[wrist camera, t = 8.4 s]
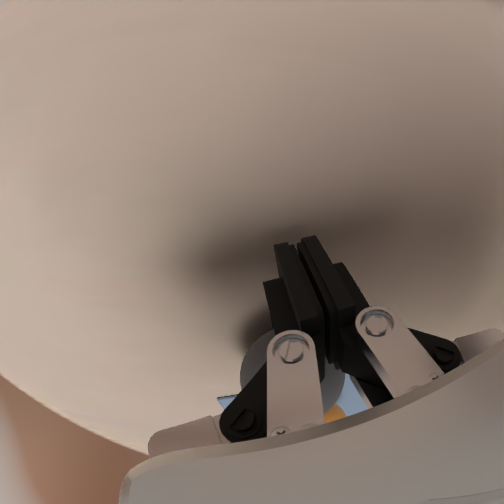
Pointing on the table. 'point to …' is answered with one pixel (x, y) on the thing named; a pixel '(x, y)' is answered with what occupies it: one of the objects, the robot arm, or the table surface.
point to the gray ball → (258, 357)
